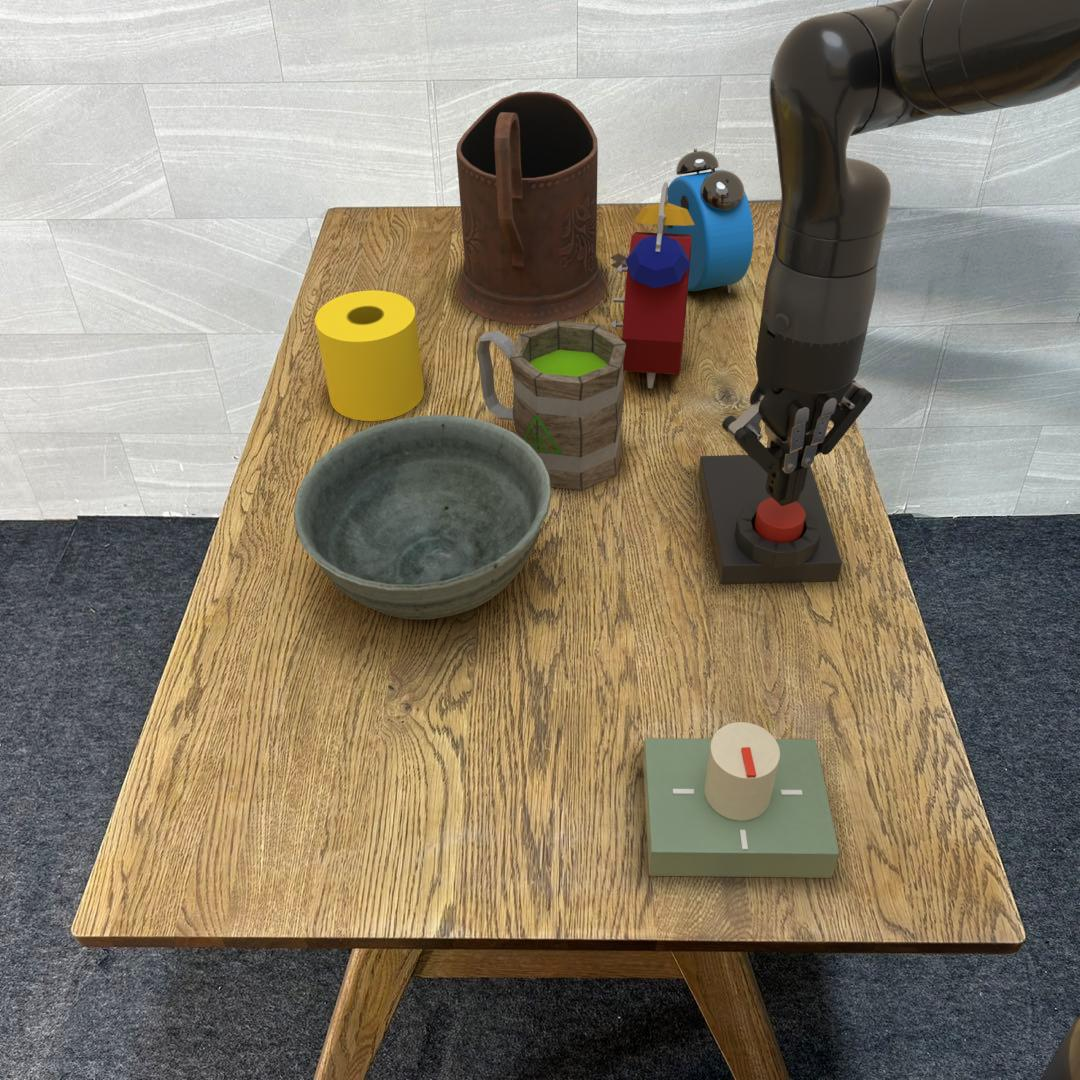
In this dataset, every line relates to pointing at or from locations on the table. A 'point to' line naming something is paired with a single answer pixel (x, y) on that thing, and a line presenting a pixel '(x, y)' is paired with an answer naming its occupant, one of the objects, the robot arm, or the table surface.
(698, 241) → the alarm clock
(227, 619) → the table surface
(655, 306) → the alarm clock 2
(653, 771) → the dial panel
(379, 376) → the yellow toilet paper roll
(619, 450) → the mug
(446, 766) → the table surface
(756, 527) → the button
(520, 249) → the tea glass holder
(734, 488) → the button box
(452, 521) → the bowl
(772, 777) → the dial knob
